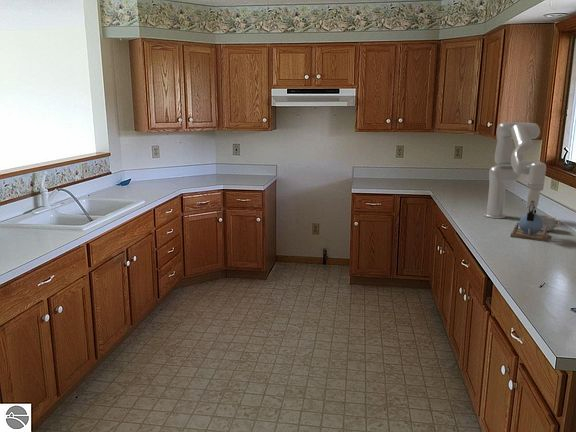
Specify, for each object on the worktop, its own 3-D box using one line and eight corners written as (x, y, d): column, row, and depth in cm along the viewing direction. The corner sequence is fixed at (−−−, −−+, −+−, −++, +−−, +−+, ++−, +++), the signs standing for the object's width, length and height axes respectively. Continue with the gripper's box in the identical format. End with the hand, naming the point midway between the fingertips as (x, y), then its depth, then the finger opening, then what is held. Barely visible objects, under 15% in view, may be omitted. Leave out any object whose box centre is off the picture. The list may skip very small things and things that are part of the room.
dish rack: (514, 230, 269) (515, 221, 268) (548, 235, 261) (549, 226, 260) (510, 236, 257) (511, 227, 256) (546, 241, 248) (547, 232, 247)
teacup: (528, 228, 275) (530, 214, 273) (542, 226, 278) (544, 213, 276) (549, 234, 262) (551, 220, 260) (563, 232, 266) (565, 218, 264)
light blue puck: (518, 232, 260) (520, 211, 257) (541, 235, 254) (544, 213, 252) (517, 233, 258) (520, 212, 255) (540, 236, 252) (543, 214, 250)
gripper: (529, 183, 259) (524, 214, 264) (525, 188, 245) (521, 221, 249) (544, 184, 256) (540, 216, 260) (542, 190, 241) (537, 223, 246)
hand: (530, 218), depth 255 cm, fingers open, 9 cm apart
